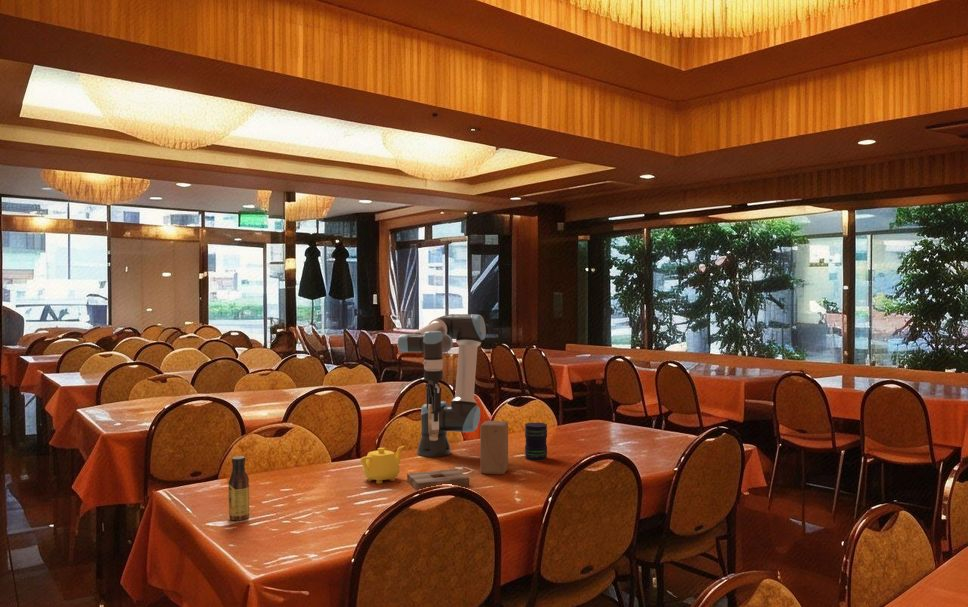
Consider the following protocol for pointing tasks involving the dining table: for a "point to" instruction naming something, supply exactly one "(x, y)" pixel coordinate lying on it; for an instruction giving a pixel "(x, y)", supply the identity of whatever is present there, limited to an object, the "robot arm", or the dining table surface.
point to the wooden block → (494, 447)
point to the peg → (432, 433)
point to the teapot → (381, 465)
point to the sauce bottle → (238, 490)
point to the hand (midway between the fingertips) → (433, 428)
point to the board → (437, 478)
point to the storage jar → (536, 441)
